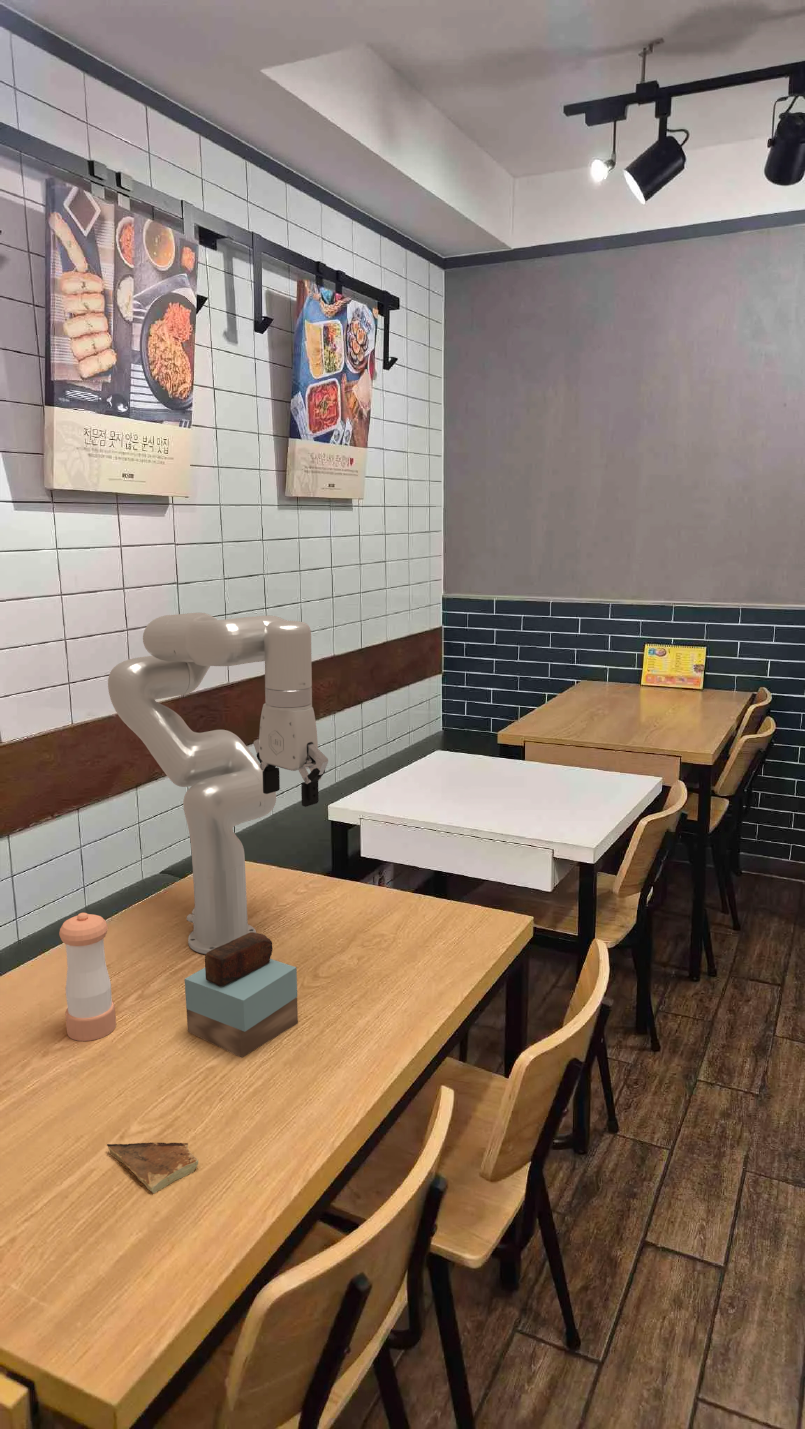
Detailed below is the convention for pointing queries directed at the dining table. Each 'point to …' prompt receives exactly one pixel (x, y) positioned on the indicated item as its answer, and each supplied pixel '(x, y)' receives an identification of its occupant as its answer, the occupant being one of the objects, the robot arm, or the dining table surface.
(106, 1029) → the salt shaker
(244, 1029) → the tower top
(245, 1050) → the tower base
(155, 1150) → the shard
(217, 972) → the brick
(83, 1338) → the dining table surface
